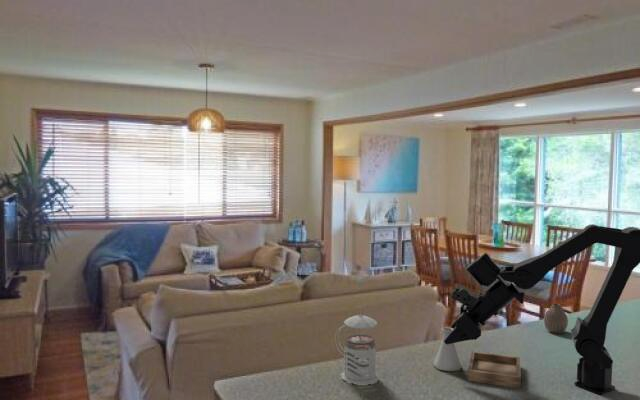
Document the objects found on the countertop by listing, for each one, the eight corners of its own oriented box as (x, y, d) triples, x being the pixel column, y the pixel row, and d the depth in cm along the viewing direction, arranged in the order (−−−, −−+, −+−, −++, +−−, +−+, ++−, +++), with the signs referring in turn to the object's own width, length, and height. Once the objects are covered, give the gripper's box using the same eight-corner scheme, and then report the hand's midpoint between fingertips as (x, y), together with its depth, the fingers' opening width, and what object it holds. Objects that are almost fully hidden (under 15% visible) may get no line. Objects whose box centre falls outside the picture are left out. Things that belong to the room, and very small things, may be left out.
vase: (545, 333, 160) (546, 306, 159) (542, 327, 167) (543, 300, 166) (569, 336, 158) (570, 308, 157) (565, 329, 165) (566, 302, 164)
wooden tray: (519, 366, 133) (519, 357, 133) (520, 388, 120) (520, 377, 120) (471, 360, 137) (471, 351, 137) (467, 380, 124) (467, 370, 124)
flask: (458, 362, 136) (459, 325, 136) (463, 372, 129) (464, 334, 128) (431, 360, 137) (432, 324, 136) (434, 371, 130) (435, 333, 129)
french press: (369, 389, 119) (370, 283, 117) (326, 378, 125) (327, 277, 123) (386, 374, 127) (387, 275, 126) (345, 364, 133) (346, 270, 132)
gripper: (473, 268, 138) (430, 304, 143) (467, 283, 121) (419, 323, 125) (502, 300, 136) (458, 335, 141) (501, 319, 119) (451, 359, 123)
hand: (447, 337), depth 132 cm, fingers open, 9 cm apart
